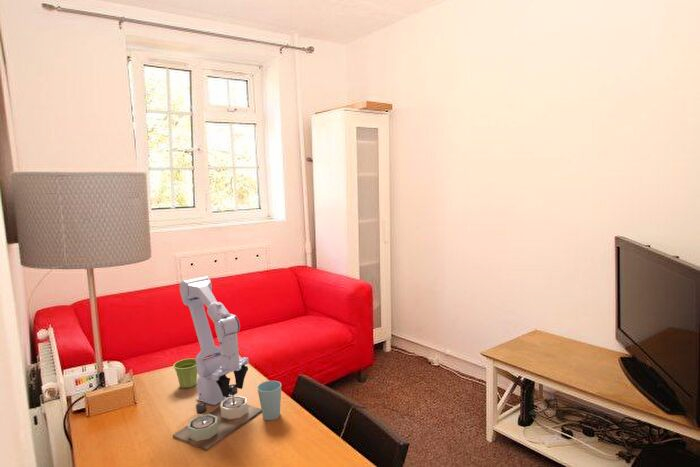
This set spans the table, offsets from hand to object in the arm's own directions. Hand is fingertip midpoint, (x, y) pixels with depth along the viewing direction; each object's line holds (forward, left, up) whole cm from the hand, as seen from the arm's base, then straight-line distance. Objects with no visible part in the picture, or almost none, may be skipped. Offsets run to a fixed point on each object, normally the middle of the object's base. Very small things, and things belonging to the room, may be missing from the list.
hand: (232, 392), depth 146 cm
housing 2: (0, 0, -8) cm, 8 cm away
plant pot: (-32, +8, -8) cm, 34 cm away
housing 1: (0, -13, -8) cm, 15 cm away
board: (0, -6, -8) cm, 10 cm away
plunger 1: (0, -13, -4) cm, 14 cm away
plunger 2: (0, 0, -4) cm, 4 cm away
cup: (+12, +4, -8) cm, 15 cm away
